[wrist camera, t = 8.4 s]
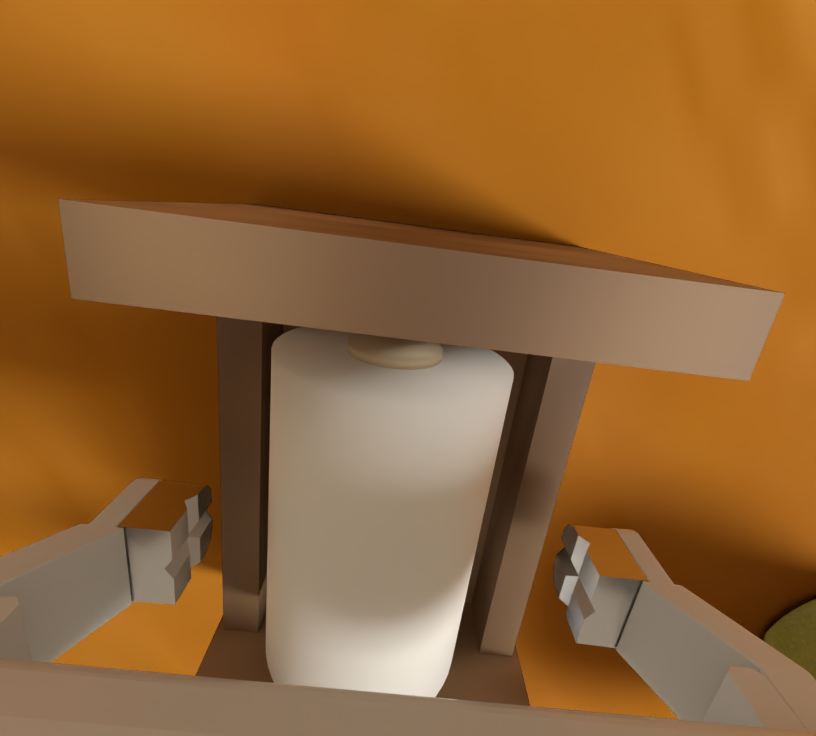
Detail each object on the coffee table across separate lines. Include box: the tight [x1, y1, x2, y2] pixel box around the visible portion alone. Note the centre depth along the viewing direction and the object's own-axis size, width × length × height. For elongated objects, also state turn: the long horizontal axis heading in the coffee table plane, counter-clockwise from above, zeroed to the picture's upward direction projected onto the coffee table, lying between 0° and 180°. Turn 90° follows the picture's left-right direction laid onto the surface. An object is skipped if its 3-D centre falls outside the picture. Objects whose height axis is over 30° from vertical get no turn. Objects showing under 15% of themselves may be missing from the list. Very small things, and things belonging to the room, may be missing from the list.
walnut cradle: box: [58, 199, 785, 706], centre depth 11 cm, size 9×13×7 cm
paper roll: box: [266, 327, 514, 697], centre depth 11 cm, size 8×5×5 cm, turn 173°
